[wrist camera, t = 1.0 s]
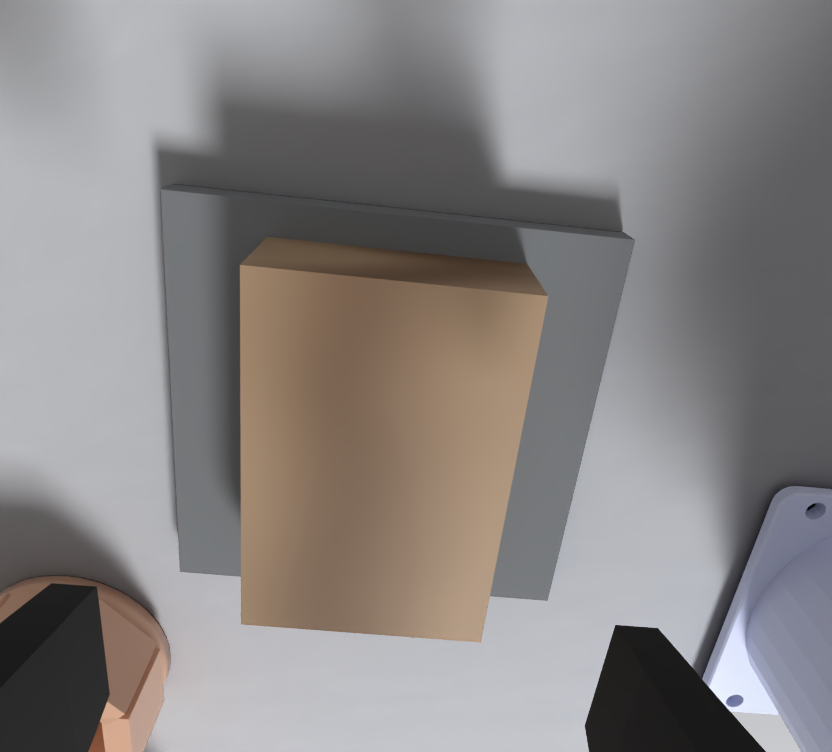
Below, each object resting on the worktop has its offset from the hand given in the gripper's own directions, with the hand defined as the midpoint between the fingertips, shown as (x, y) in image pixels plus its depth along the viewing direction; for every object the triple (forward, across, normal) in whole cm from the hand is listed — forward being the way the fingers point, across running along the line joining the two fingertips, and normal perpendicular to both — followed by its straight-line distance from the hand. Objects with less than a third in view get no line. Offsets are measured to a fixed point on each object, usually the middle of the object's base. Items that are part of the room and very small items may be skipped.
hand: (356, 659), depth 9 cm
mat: (+8, 0, 0) cm, 8 cm away
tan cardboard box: (+7, 0, 0) cm, 7 cm away
